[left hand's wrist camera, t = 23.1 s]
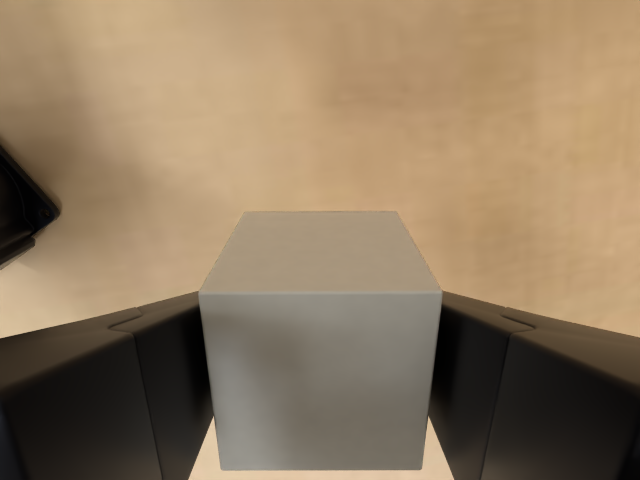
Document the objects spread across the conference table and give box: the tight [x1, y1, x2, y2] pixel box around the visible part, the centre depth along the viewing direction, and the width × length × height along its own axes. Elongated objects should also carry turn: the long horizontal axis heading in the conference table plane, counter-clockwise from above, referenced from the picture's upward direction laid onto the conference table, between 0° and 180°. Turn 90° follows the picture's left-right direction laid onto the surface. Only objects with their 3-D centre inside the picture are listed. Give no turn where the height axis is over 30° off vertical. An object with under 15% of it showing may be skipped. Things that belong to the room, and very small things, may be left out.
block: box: [198, 211, 443, 471], centre depth 10 cm, size 4×4×5 cm
